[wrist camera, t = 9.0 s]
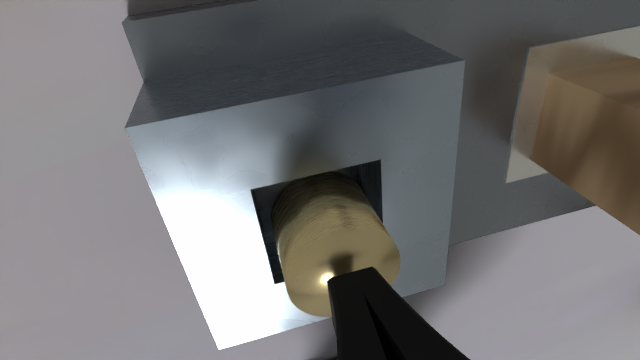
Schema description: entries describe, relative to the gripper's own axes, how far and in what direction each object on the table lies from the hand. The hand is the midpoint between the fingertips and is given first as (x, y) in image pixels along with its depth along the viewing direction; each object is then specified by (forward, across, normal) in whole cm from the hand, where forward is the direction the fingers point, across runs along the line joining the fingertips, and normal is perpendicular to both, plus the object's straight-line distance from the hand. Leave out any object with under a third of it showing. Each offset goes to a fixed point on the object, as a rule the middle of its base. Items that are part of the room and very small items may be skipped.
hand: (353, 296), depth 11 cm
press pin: (+4, 0, 0) cm, 4 cm away
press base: (+8, -8, 0) cm, 12 cm away
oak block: (+7, -14, 0) cm, 16 cm away
